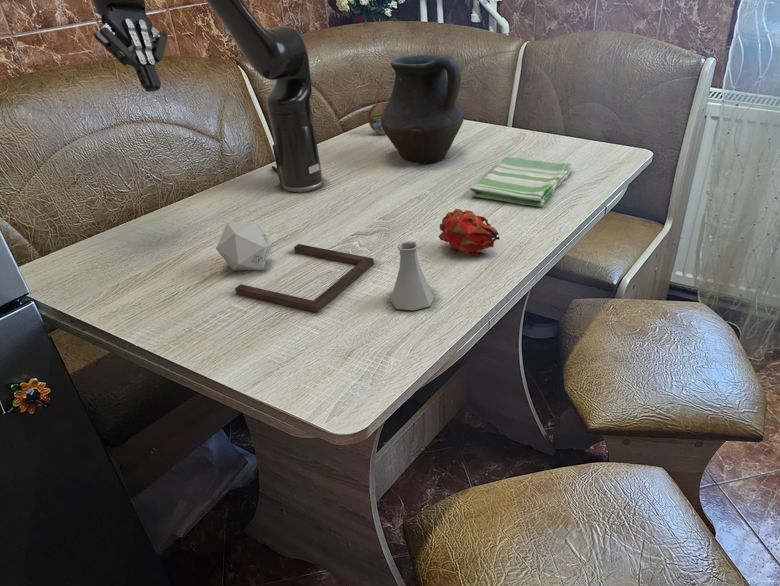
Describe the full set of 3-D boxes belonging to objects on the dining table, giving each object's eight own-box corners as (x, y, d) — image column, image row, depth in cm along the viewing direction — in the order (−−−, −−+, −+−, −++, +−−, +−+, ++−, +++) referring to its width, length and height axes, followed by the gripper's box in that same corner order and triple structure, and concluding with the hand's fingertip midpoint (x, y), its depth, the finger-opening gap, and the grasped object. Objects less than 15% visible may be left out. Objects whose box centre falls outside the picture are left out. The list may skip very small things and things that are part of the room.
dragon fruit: (438, 250, 122) (495, 269, 119) (423, 241, 114) (483, 262, 111) (453, 208, 122) (510, 226, 118) (439, 196, 113) (500, 216, 110)
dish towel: (573, 172, 150) (574, 161, 149) (543, 209, 133) (544, 196, 132) (503, 163, 156) (503, 152, 155) (466, 198, 139) (465, 186, 138)
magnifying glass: (372, 137, 177) (369, 105, 172) (368, 134, 179) (365, 103, 174) (421, 128, 183) (419, 98, 178) (416, 125, 185) (414, 95, 180)
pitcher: (420, 140, 173) (413, 41, 159) (485, 154, 163) (484, 48, 148) (368, 162, 160) (356, 55, 145) (436, 178, 149) (430, 65, 135)
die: (248, 286, 111) (272, 236, 108) (201, 260, 109) (225, 209, 107) (262, 279, 119) (286, 232, 117) (219, 255, 118) (242, 208, 115)
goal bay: (236, 294, 107) (234, 288, 106) (299, 249, 120) (298, 243, 120) (317, 313, 102) (316, 306, 101) (374, 264, 115) (373, 258, 114)
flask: (390, 290, 107) (384, 236, 101) (433, 288, 107) (430, 234, 101) (390, 313, 101) (383, 257, 95) (435, 310, 101) (431, 254, 96)
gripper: (132, -8, 109) (171, 95, 114) (58, -17, 99) (105, 98, 103) (159, -25, 106) (198, 82, 110) (85, -36, 95) (132, 83, 99)
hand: (153, 90), depth 107 cm, fingers closed
